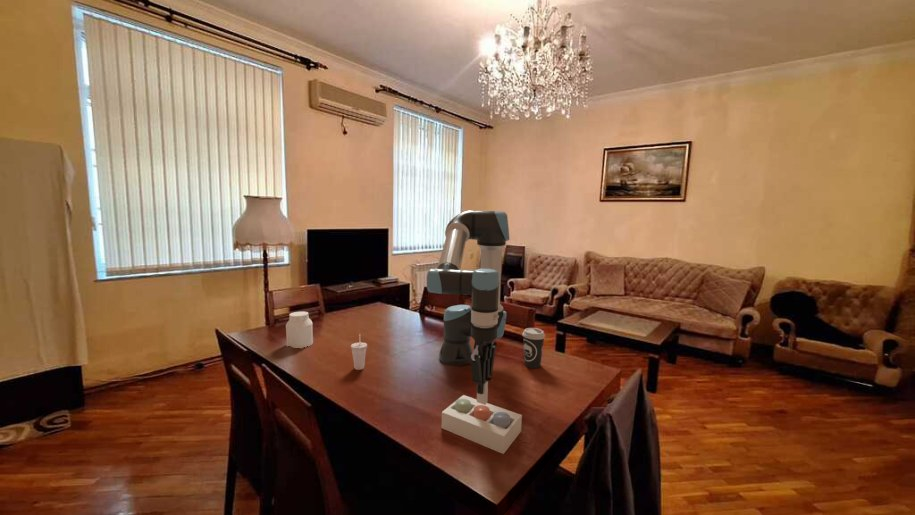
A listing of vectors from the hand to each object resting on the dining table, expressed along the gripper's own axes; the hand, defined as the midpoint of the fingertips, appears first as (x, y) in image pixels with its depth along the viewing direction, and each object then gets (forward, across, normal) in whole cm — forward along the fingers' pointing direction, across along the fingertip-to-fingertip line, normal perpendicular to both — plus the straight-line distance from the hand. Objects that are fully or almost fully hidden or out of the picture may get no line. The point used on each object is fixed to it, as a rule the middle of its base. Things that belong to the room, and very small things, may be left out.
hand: (482, 402), depth 101 cm
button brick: (+8, 0, 0) cm, 8 cm away
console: (+8, 0, 0) cm, 8 cm away
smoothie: (+9, +8, +61) cm, 62 cm away
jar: (+9, +9, +104) cm, 105 cm away
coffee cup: (+9, +52, +4) cm, 53 cm away
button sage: (+8, 0, +6) cm, 10 cm away
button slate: (+8, 0, -7) cm, 10 cm away
